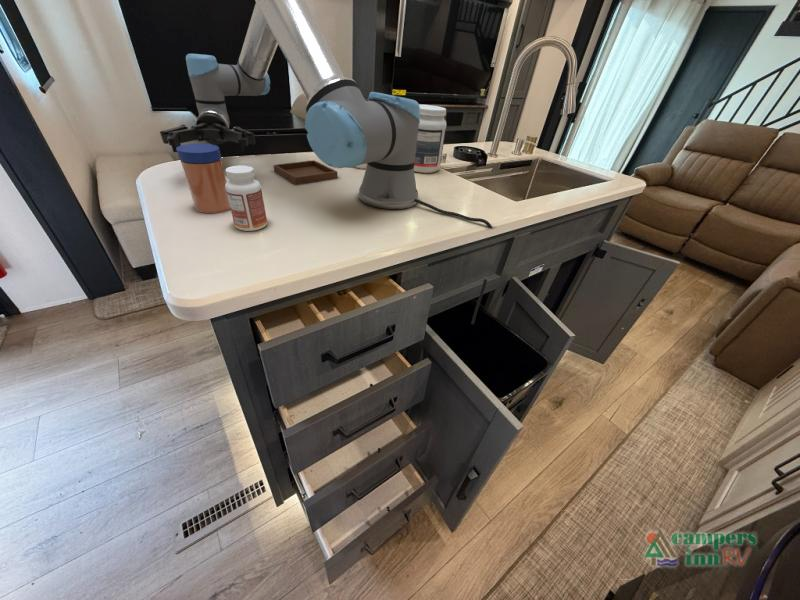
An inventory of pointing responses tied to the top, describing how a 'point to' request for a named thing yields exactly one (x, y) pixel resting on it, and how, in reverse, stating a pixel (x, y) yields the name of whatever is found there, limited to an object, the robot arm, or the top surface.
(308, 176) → the tray
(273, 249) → the top surface
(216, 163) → the jar
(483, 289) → the robot arm
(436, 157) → the supplement tub
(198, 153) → the jar lid
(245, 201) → the pill bottle
